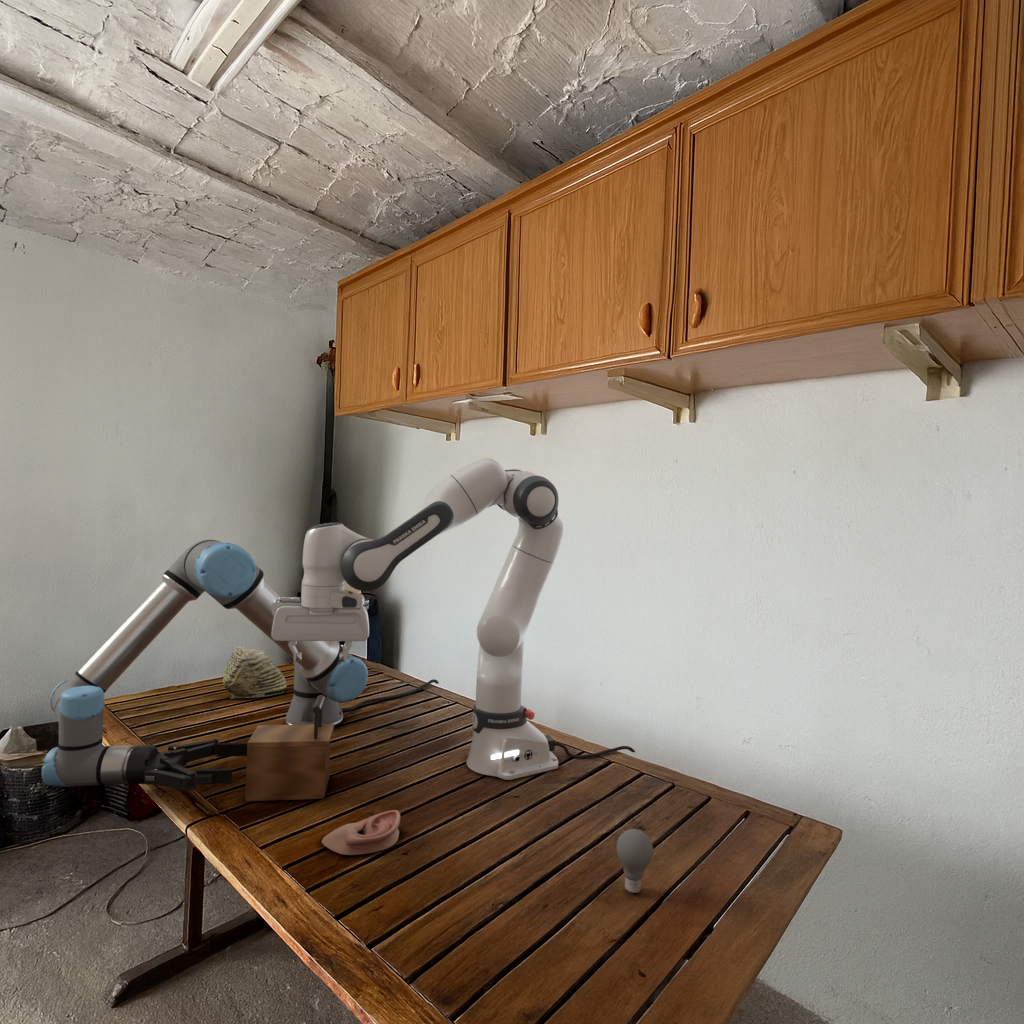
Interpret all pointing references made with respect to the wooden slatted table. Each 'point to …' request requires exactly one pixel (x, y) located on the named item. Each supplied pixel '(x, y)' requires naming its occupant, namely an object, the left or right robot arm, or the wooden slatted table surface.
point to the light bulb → (634, 857)
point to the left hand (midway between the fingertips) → (240, 761)
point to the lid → (294, 732)
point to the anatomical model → (365, 835)
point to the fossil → (252, 674)
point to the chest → (287, 773)
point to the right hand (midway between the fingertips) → (320, 661)
